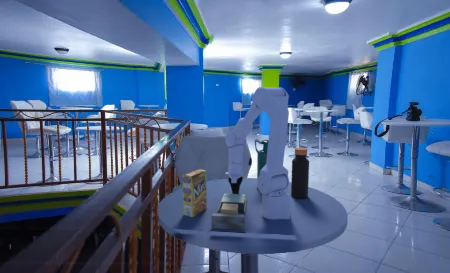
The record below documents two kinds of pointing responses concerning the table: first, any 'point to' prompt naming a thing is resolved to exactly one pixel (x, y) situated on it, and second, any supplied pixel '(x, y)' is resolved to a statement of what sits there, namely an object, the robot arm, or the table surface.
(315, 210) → the table surface
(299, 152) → the bottle
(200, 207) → the candy box
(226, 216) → the press bed
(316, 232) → the table surface
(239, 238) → the table surface
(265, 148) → the pitcher
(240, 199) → the grey flat block
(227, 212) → the tan cube
